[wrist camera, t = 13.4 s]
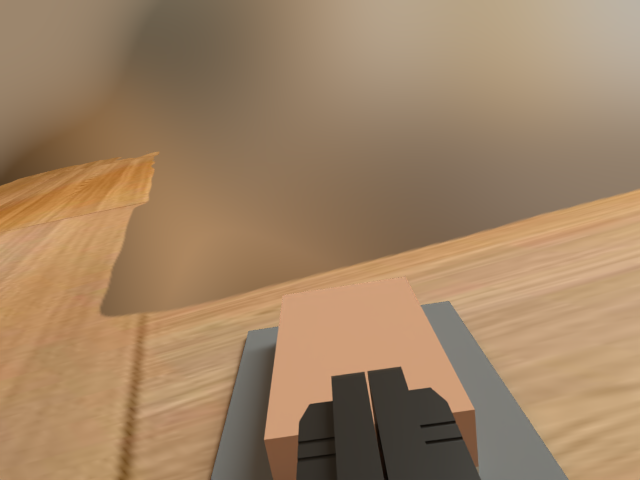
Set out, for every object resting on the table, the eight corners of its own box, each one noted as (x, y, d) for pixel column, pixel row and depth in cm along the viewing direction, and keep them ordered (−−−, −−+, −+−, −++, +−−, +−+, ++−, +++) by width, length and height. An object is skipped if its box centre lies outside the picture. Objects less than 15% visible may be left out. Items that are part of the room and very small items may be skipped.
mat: (449, 306, 37) (449, 301, 37) (651, 615, 15) (651, 604, 15) (249, 336, 38) (248, 331, 37) (166, 678, 16) (162, 669, 16)
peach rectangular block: (479, 475, 21) (410, 319, 35) (474, 409, 20) (405, 276, 34) (278, 503, 21) (291, 337, 35) (264, 439, 20) (282, 295, 34)
